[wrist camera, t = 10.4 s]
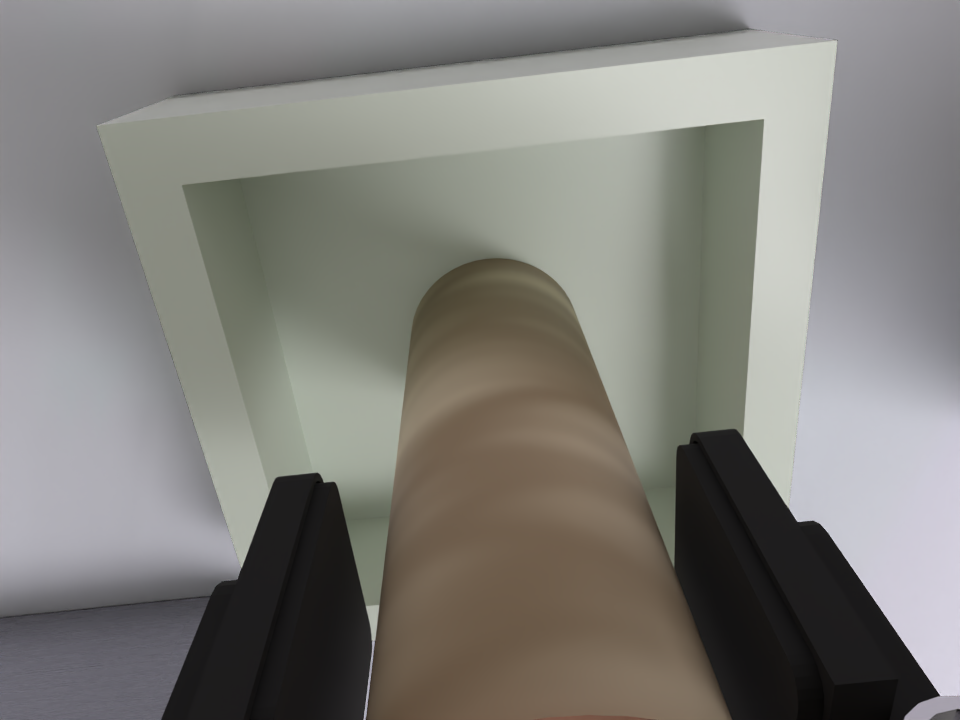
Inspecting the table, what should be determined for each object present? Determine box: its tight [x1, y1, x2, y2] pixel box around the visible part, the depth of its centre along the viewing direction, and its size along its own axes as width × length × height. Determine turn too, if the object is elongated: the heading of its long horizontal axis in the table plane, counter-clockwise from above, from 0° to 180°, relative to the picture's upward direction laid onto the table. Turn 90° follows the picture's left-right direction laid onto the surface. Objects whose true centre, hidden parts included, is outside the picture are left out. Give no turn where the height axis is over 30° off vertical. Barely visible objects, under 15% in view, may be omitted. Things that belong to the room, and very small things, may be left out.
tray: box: [96, 29, 838, 641], centre depth 15 cm, size 11×11×4 cm
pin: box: [366, 258, 732, 720], centre depth 11 cm, size 4×4×12 cm
